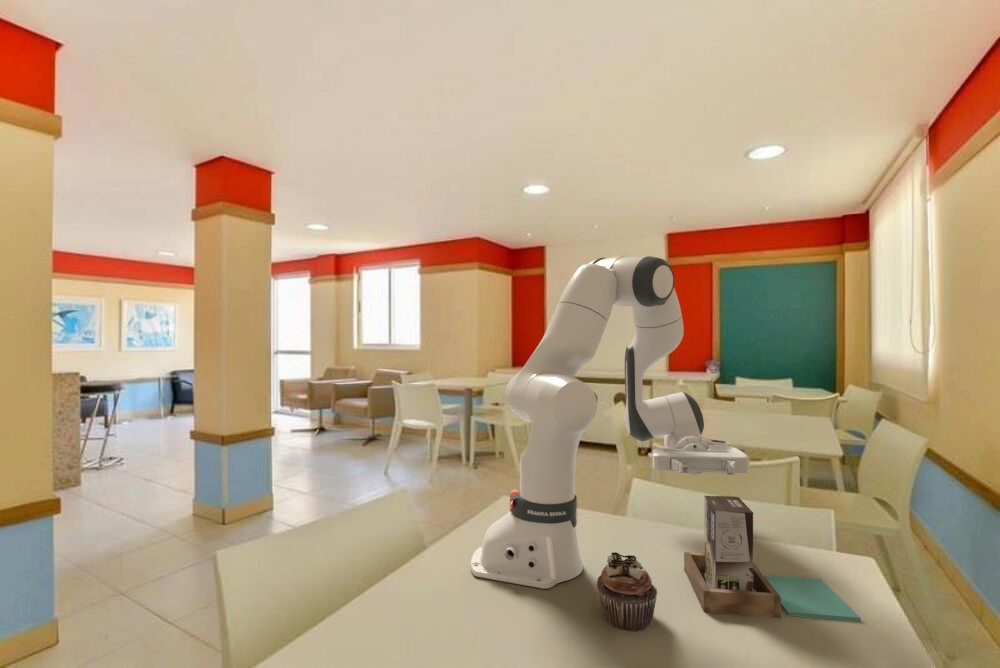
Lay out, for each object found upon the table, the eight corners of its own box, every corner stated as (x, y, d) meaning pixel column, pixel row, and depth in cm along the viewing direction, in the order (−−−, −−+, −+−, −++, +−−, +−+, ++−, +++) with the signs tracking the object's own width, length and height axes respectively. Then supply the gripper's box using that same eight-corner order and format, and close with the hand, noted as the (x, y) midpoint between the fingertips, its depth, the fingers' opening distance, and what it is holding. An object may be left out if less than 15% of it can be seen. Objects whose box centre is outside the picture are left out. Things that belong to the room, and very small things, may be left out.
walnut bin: (703, 611, 82) (703, 590, 82) (684, 569, 97) (684, 552, 97) (780, 618, 80) (780, 596, 80) (748, 574, 95) (748, 556, 95)
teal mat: (787, 615, 81) (787, 611, 81) (758, 577, 94) (758, 574, 94) (860, 621, 79) (860, 617, 79) (820, 581, 92) (820, 578, 92)
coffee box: (755, 607, 83) (754, 512, 83) (714, 603, 84) (714, 510, 85) (739, 581, 92) (739, 495, 92) (703, 577, 93) (703, 493, 94)
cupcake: (663, 637, 75) (663, 571, 75) (599, 632, 76) (599, 568, 76) (651, 603, 84) (651, 545, 85) (594, 599, 86) (594, 542, 86)
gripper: (646, 439, 117) (656, 453, 104) (736, 441, 114) (758, 456, 101) (646, 466, 117) (656, 483, 104) (736, 468, 114) (759, 486, 101)
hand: (707, 470), depth 102 cm, fingers open, 8 cm apart
